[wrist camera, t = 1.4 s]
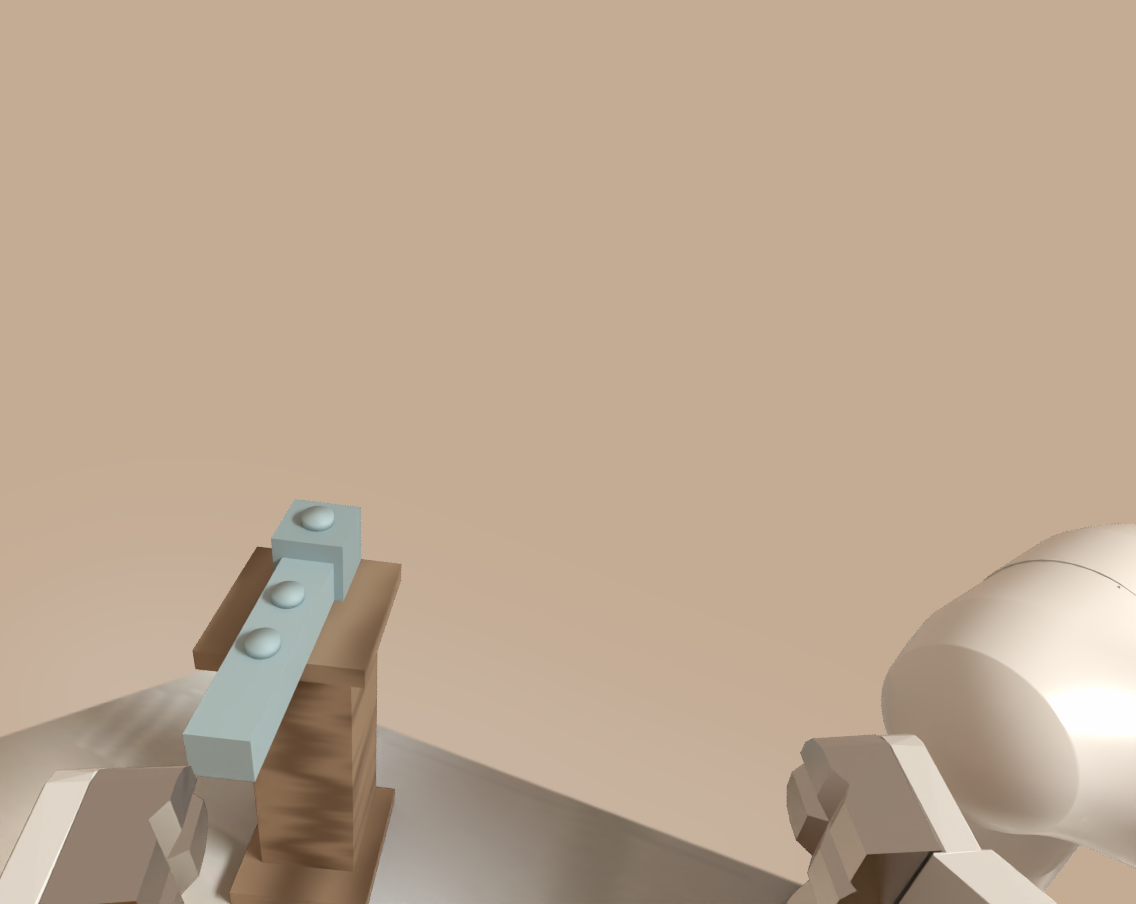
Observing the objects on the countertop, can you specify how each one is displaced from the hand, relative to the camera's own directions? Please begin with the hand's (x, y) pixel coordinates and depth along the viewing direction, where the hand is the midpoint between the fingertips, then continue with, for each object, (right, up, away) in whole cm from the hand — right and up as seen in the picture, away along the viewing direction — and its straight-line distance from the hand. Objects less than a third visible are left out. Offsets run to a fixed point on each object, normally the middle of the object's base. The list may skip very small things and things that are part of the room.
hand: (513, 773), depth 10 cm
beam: (-16, -7, +36) cm, 40 cm away
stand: (-19, -28, +52) cm, 62 cm away
